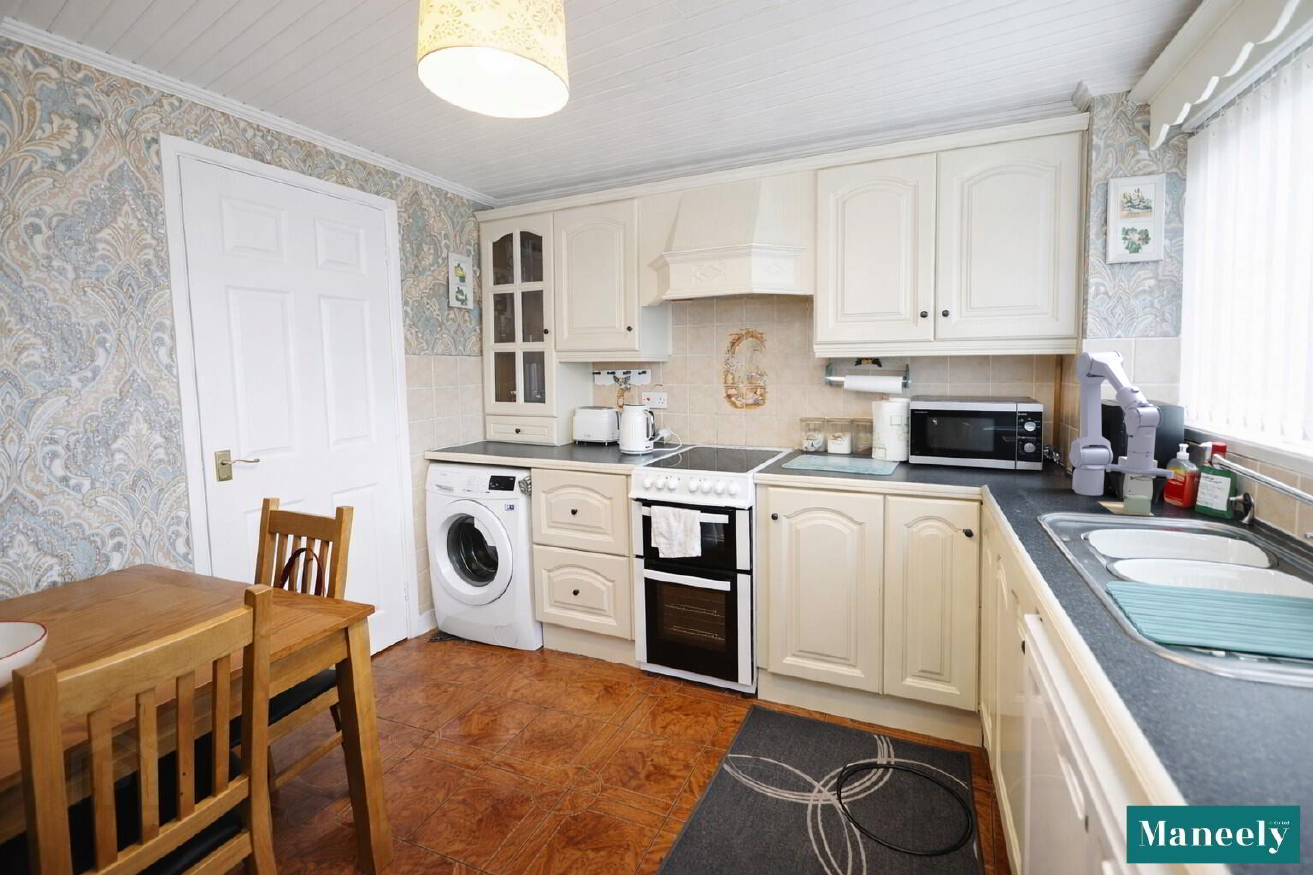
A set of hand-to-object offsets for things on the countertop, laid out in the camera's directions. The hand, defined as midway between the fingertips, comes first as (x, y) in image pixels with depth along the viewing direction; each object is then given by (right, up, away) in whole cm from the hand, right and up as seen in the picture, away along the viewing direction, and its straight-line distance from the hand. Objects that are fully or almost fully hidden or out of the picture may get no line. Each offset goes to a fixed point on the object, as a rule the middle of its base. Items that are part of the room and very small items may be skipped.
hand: (1136, 501), depth 172 cm
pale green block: (0, -3, 0) cm, 3 cm away
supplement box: (+12, -2, +16) cm, 20 cm away
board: (0, -4, +4) cm, 6 cm away
